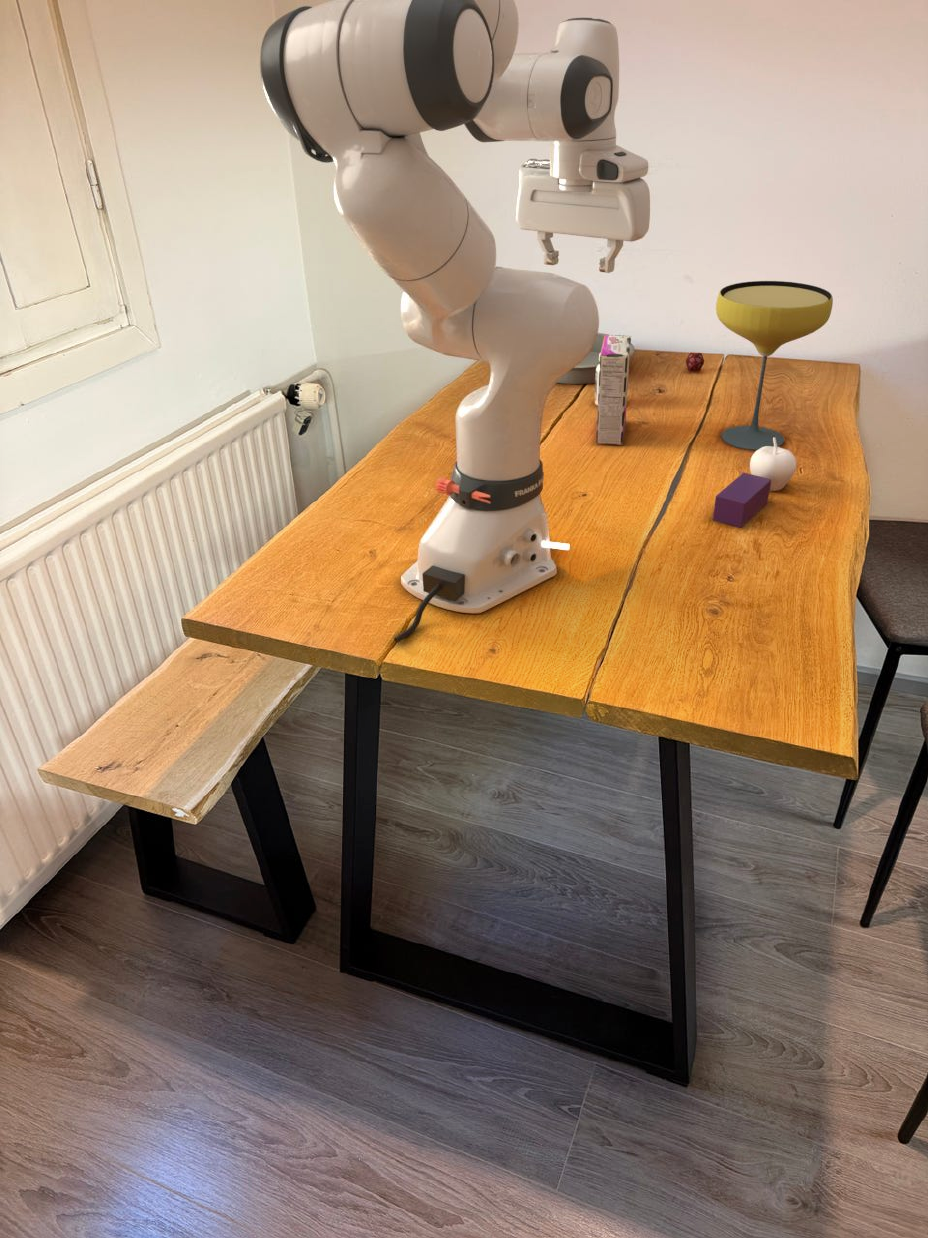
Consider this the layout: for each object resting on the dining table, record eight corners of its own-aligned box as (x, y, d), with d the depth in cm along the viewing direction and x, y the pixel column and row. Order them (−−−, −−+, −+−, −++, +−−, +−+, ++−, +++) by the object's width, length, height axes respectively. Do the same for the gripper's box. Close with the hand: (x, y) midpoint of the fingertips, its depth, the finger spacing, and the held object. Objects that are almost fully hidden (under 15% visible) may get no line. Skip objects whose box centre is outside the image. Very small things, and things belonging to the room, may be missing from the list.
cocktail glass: (689, 450, 155) (707, 302, 141) (712, 414, 168) (730, 277, 154) (797, 465, 148) (826, 312, 134) (812, 427, 162) (840, 284, 148)
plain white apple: (774, 474, 146) (782, 427, 141) (801, 491, 140) (810, 444, 136) (737, 481, 144) (744, 434, 140) (762, 499, 138) (771, 451, 134)
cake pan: (511, 354, 203) (511, 334, 200) (617, 347, 204) (618, 327, 202) (530, 390, 182) (530, 369, 180) (647, 382, 184) (648, 361, 181)
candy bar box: (599, 421, 167) (604, 333, 158) (625, 423, 166) (632, 334, 157) (594, 445, 158) (599, 353, 149) (622, 446, 157) (629, 354, 148)
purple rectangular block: (741, 528, 131) (744, 503, 129) (712, 520, 133) (715, 495, 131) (767, 502, 137) (771, 479, 135) (739, 495, 140) (743, 472, 137)
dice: (703, 367, 191) (705, 349, 189) (702, 374, 187) (705, 355, 185) (685, 367, 192) (687, 348, 189) (684, 373, 188) (686, 355, 186)
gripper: (506, 160, 124) (507, 264, 132) (636, 168, 114) (628, 280, 121) (532, 155, 129) (531, 255, 136) (659, 162, 118) (650, 271, 125)
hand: (578, 267), depth 129 cm, fingers open, 8 cm apart
